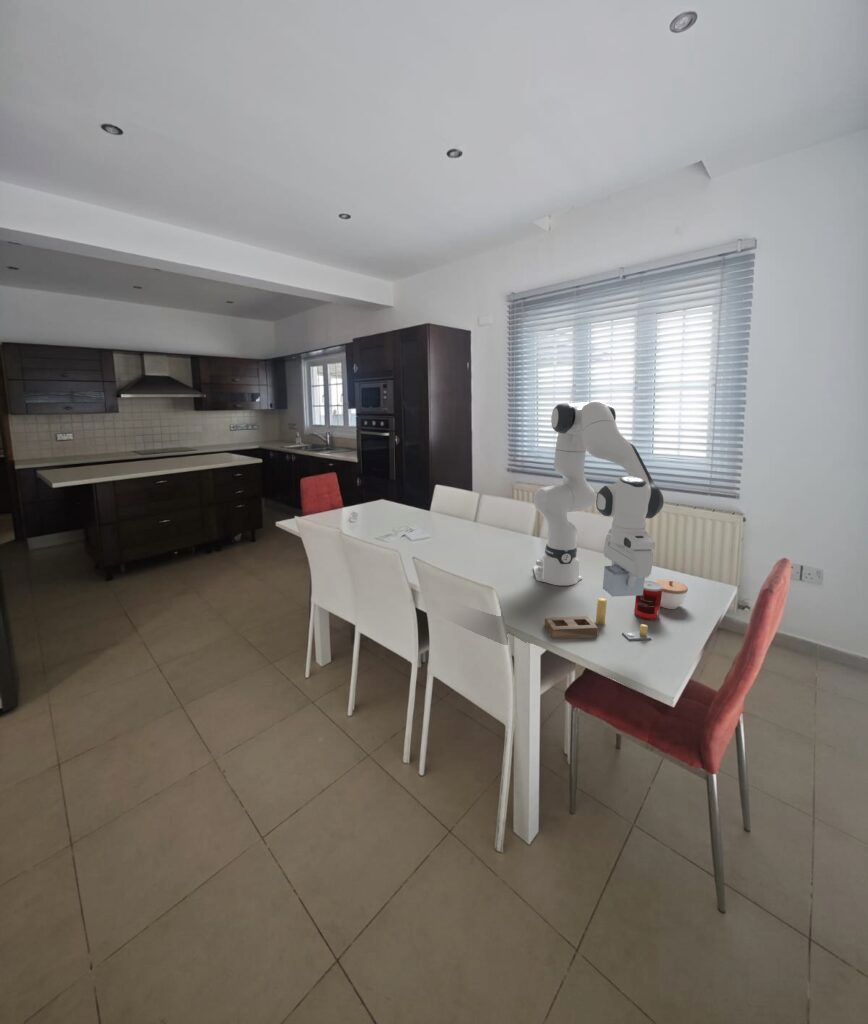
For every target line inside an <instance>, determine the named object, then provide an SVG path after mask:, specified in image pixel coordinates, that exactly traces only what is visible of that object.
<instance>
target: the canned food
mask: <svg viewBox="0 0 868 1024" xmlns="http://www.w3.org/2000/svg"><path fill="white" fill-rule="evenodd" d="M661 596H662V585H660V584H658V583H656V582H655V581H652V580H644V589H643V595H637V596H635V601H634V610H633V611H634V615H635V616H636V617H638V618H639V619H641V620H645V621H646V620H647V621H655V620H656V621H657V619H659V616H660V611H661V606H660V604H661Z"/></svg>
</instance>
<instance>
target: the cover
mask: <svg viewBox="0 0 868 1024" xmlns="http://www.w3.org/2000/svg"><path fill="white" fill-rule="evenodd" d="M603 569H604V571H603V579H602V580H603V581H602V582H603V583H602V589H603V590H604V591H605V592H606V593H608V594H609V595H610V596H611V597H614V598H615V597H631V596H632V597H633V596H635V597H636V596H637V595H643V589H644V581H645V578H637V579H636V581H635V586H634V587H628V586H627V585H626V580H628V579H629V572H628V571H626V570H625V569H623V568H622V567H620V566H619V565H617V566H612V565H604V568H603Z"/></svg>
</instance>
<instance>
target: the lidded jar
mask: <svg viewBox="0 0 868 1024" xmlns="http://www.w3.org/2000/svg"><path fill="white" fill-rule="evenodd" d="M654 582H656V583H658V584H660V585H662V596H661V604H660V608H661V607H662V608H664V609H668V610H676V609H678V608H679V607H680V606H682V605H683V604H684V603H685V601H686V598H687V594H688V589H689V588H688V586H687V585H686V584H685V583H683V582H680V581H676V580H672V579H656V580H655V581H654Z"/></svg>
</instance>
